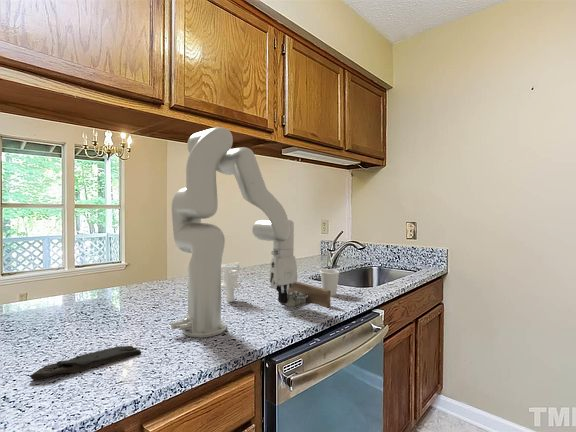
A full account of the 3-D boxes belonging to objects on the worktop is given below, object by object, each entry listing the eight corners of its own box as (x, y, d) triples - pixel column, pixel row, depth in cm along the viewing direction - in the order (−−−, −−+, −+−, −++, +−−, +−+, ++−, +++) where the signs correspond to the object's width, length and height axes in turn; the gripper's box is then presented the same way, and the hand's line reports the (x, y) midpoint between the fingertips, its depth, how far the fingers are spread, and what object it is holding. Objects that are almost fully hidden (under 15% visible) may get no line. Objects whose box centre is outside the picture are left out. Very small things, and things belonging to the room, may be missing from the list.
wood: (133, 346, 86) (133, 334, 86) (144, 354, 81) (144, 342, 81) (26, 375, 70) (26, 361, 70) (31, 389, 65) (31, 373, 65)
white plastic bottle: (235, 303, 124) (236, 264, 123) (218, 302, 125) (218, 263, 125) (241, 298, 131) (241, 261, 130) (224, 297, 132) (224, 260, 131)
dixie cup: (342, 293, 141) (342, 270, 141) (334, 298, 134) (335, 273, 133) (324, 290, 145) (324, 268, 145) (316, 295, 138) (316, 271, 138)
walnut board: (326, 307, 120) (326, 291, 120) (287, 295, 137) (287, 280, 137) (330, 306, 122) (330, 290, 122) (291, 294, 138) (291, 280, 138)
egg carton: (289, 308, 120) (289, 297, 120) (276, 304, 125) (276, 293, 125) (309, 302, 127) (309, 292, 127) (296, 298, 133) (296, 288, 133)
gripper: (273, 256, 113) (273, 308, 113) (304, 252, 122) (304, 301, 123) (260, 253, 118) (260, 303, 119) (291, 250, 128) (291, 296, 128)
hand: (282, 302), depth 121 cm, fingers closed
